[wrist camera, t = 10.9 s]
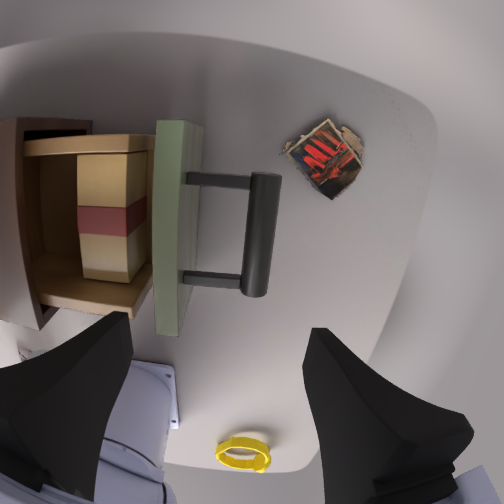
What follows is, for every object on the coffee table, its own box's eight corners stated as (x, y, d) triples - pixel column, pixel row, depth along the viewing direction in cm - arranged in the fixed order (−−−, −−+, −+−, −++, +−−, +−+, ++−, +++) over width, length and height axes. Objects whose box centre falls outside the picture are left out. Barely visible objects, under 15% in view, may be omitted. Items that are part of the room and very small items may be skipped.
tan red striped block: (147, 259, 19) (129, 284, 16) (105, 255, 19) (82, 278, 15) (149, 150, 17) (128, 153, 13) (103, 151, 16) (75, 154, 13)
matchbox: (336, 204, 20) (338, 205, 19) (274, 160, 19) (275, 161, 18) (373, 150, 19) (376, 150, 18) (314, 104, 18) (315, 103, 17)
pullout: (275, 133, 17) (293, 129, 11) (257, 284, 21) (264, 344, 15) (41, 132, 16) (-21, 138, 10) (47, 263, 20) (-1, 303, 14)
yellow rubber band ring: (209, 443, 30) (246, 461, 31) (205, 461, 27) (244, 478, 29) (243, 426, 28) (281, 446, 29) (240, 447, 26) (281, 465, 27)
